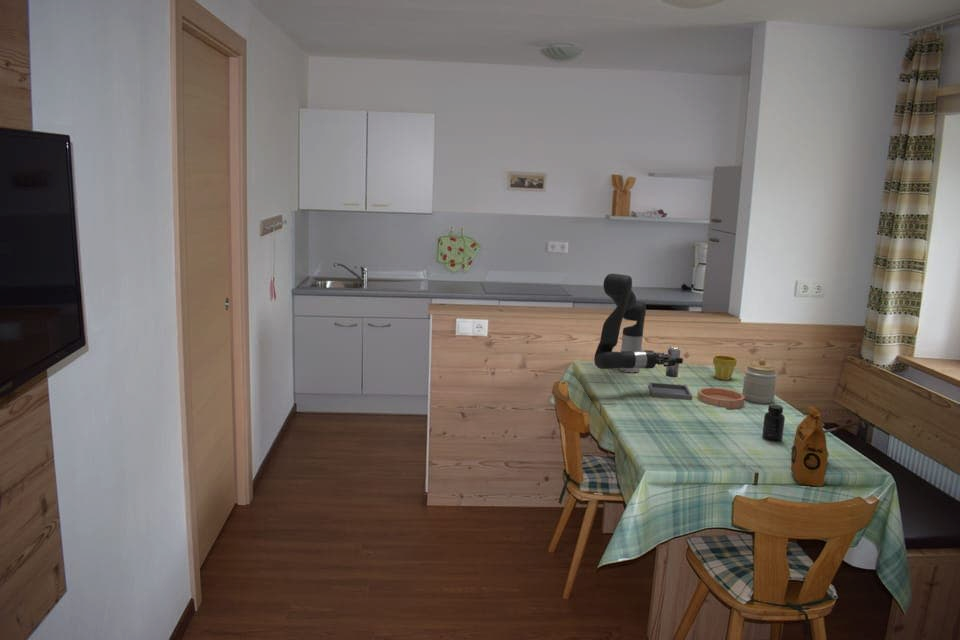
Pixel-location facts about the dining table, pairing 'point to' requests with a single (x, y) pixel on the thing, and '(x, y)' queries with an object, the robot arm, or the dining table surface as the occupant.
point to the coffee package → (810, 451)
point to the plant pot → (724, 366)
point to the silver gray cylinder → (673, 370)
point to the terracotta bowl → (721, 397)
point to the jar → (759, 382)
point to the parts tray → (670, 391)
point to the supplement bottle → (773, 423)
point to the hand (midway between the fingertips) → (678, 358)
